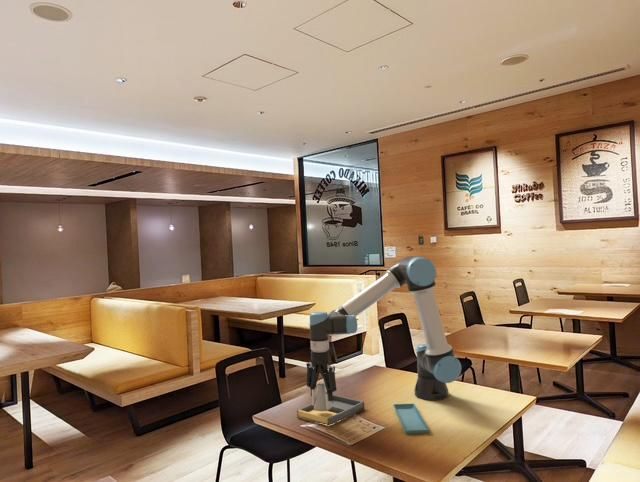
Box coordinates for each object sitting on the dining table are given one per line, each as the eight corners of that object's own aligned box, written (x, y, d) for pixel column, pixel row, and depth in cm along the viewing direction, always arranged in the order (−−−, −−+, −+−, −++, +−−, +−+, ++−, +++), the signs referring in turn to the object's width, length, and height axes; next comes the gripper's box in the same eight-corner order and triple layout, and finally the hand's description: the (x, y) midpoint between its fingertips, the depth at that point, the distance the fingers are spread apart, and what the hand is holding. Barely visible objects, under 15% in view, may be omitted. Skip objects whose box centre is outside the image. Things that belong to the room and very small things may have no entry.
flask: (329, 412, 181) (328, 387, 181) (311, 411, 183) (310, 386, 183) (332, 406, 188) (331, 381, 189) (315, 405, 190) (314, 381, 190)
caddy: (364, 408, 193) (364, 401, 193) (329, 427, 175) (328, 419, 176) (333, 401, 204) (332, 394, 204) (297, 417, 187) (296, 410, 187)
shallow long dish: (430, 435, 166) (429, 428, 166) (404, 436, 166) (404, 429, 166) (414, 409, 192) (414, 403, 192) (393, 410, 192) (392, 404, 192)
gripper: (296, 349, 189) (298, 404, 189) (332, 355, 177) (334, 414, 176) (308, 345, 195) (310, 399, 195) (344, 351, 182) (346, 408, 182)
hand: (322, 406), depth 186 cm, fingers closed on flask, 7 cm apart
